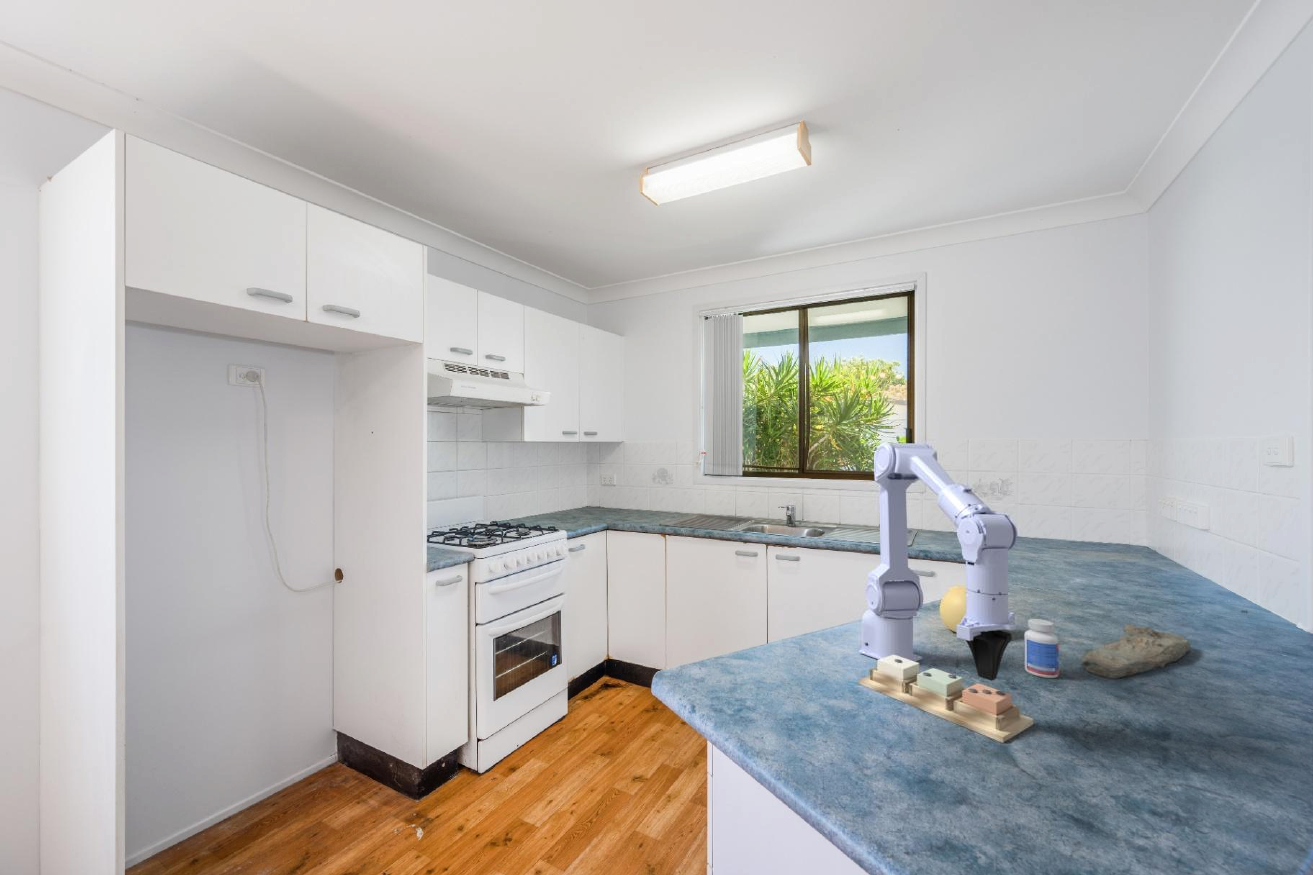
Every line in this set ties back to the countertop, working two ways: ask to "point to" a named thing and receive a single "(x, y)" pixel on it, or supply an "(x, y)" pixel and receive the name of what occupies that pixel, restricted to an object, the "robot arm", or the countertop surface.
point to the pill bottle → (1041, 649)
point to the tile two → (939, 682)
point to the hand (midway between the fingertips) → (986, 677)
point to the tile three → (987, 699)
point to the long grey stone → (1135, 653)
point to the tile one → (898, 667)
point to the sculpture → (953, 607)
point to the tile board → (949, 706)
